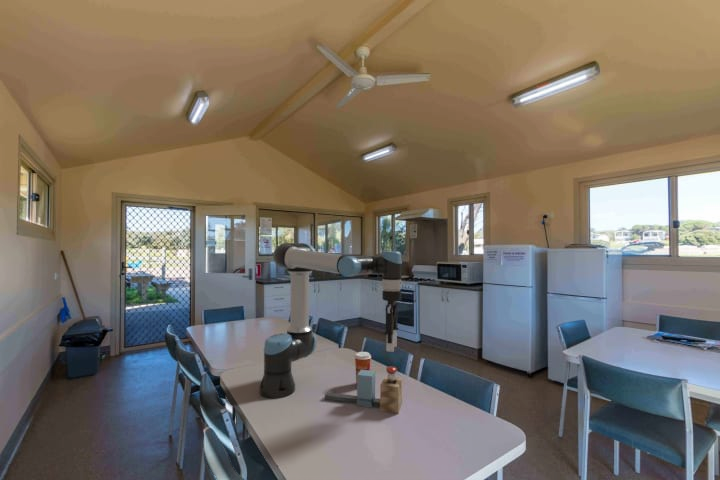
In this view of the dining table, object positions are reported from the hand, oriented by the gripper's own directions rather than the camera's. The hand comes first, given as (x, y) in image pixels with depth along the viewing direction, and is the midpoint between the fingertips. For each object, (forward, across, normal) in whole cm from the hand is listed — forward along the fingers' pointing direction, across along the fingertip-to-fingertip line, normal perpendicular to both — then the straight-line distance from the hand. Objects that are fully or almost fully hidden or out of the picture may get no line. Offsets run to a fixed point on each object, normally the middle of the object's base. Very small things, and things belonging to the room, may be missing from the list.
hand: (391, 348), depth 133 cm
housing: (+23, 0, 0) cm, 23 cm away
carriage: (+23, 0, +10) cm, 25 cm away
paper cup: (+23, +18, +16) cm, 34 cm away
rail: (+23, 0, +16) cm, 28 cm away
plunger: (+14, 0, 0) cm, 14 cm away
